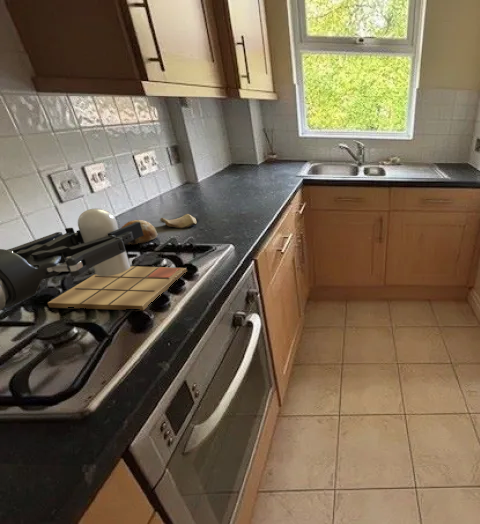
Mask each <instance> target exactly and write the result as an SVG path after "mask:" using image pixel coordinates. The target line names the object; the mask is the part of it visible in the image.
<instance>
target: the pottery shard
mask: <svg viewBox="0 0 480 524" xmlns="http://www.w3.org/2000/svg"><path fill="white" fill-rule="evenodd" d="M159 221H160V222H161V223H163V224H165V225H166V227H167V226H168V227H172V228H177V229H186V228H189V227H191V226H194V225H195V226H196V225H197V223H198V221H197V219H196V217H195V216H192V215H191V214H189V213H185V214H184V215H183V216H181V217H176V218H172V219H166V218H165V217H161V218H160V219H159Z"/></svg>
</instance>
